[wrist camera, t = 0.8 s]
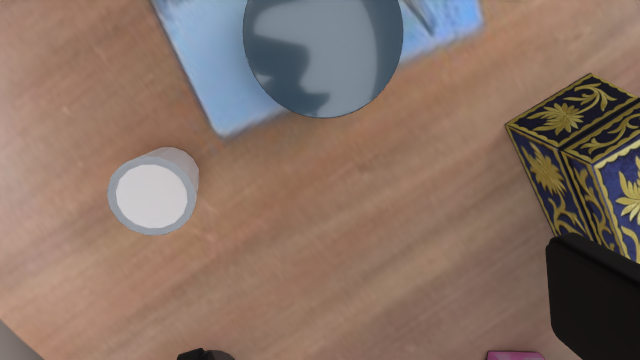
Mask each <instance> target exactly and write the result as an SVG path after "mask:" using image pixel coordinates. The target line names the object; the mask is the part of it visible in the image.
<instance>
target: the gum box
mask: <svg viewBox="0 0 640 360" xmlns="http://www.w3.org/2000/svg"><path fill="white" fill-rule="evenodd" d="M487 360H545V359H544V358H543V357H542V356H541V355H540V354H539V353H530V352H495V351H489V352H488V357H487Z"/></svg>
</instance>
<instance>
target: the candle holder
mask: <svg viewBox="0 0 640 360" xmlns="http://www.w3.org/2000/svg"><path fill="white" fill-rule="evenodd" d="M209 351H211V352H212V353H213V355H214V358H215V360H235V359H234V358H232V357H231V356H230V355H229V354H227V353H224V352H222V351H212V350H209ZM209 351H205V353H206V352H209Z"/></svg>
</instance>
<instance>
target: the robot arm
mask: <svg viewBox="0 0 640 360" xmlns="http://www.w3.org/2000/svg"><path fill="white" fill-rule="evenodd" d="M546 263H547V277H548V290H549V303H550V316H551V326H552V329H553V331H554V333H555V335H556V336H557V337H558V338H559V340H561V341H562V342H563V343H564V344H565V345H566V346H568V347H569V348H570V349H571V350H572V351H573V352H574V353H576V354H577V355H578V356H579V357H580V358H581V359H582V360H640V264H639V263H637V262H635V261H633V260H631V259H629V258H627V257H625V256H622V255H620V254H618V253H616V252H614V251H612V250H610V249H608V248H606V247H604V246H602V245H600V244H598V243H596V242H594V241H592V240H590V239H588V238H586V237H584V236H582V235H580V234H578V233H575V232H569V233H566V234H563V235H560V236H557V237H553V238H552V239H550V242H549V245H547V246H546ZM177 360H215V358H214V355H213V353H212V352H211V351H209V352H206V353H205V351H204V350H203V348H198V349H195V350H192V351H189V352H186V353H182V354H180V355H178V357H177Z"/></svg>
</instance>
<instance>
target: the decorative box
mask: <svg viewBox="0 0 640 360" xmlns="http://www.w3.org/2000/svg"><path fill="white" fill-rule="evenodd" d="M505 126H506V128H507V130H508V133H509V135H510V137H511V139H512V142H513V144H514V146H515V148H516V151H517V153H518V155H519V157H520V160H521V162H522V164H523V166H524V168H525V171H526V173H527V175H528V177H529V180H530V182H531V184H532V186H533V189H534V191H535V193H536V195H537V198H538V200H539V202H540V204H541V207H542V209H543V211H544V213H545V215H546V218H547V220H548V222H549V224H550V227H551V229H552V231H553V233H554V236H555V237H557V236H560V235H563V234H566V233H569V232H575V233H578V234H580V235H582V236H584V237H586V238H588V239H590V240H592V241H594V242H596V243H598V244H600V245H602V246H604V247H606V248H608V249H610V250H612V251H614V252H616V253H618V254H620V255H622V256H625V257H627V258H629V259H631V260H633V261H635V262H637V263H639V264H640V98H639V97H637V96H635V95H633V94H631V93H629V92H627V91H625V90H623V89H621V88H619V87H617V86H615V85H613V84H611V83H609V82H607V81H605V80H603V79H601V78H599V77H598V76H596V75H594V74H592V73H589V74H588V75H586V76H584V77H583V78H581V79H579V80H578V81H576V82H574V83H573V84H571V85H569V86H568V87H566V88H564V89H563V90H561V91H559V92H558V93H556V94H554V95H553V96H551V97H550V98H548V99H546V100H545V101H543V102H541V103H540V104H538V105H536V106H535V107H533V108H531V109H530V110H528V111H526V112H525V113H523V114H521V115H520V116H518V117H516V118H515V119H513V120H511V121H510V122H508V123H507V124H505Z"/></svg>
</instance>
